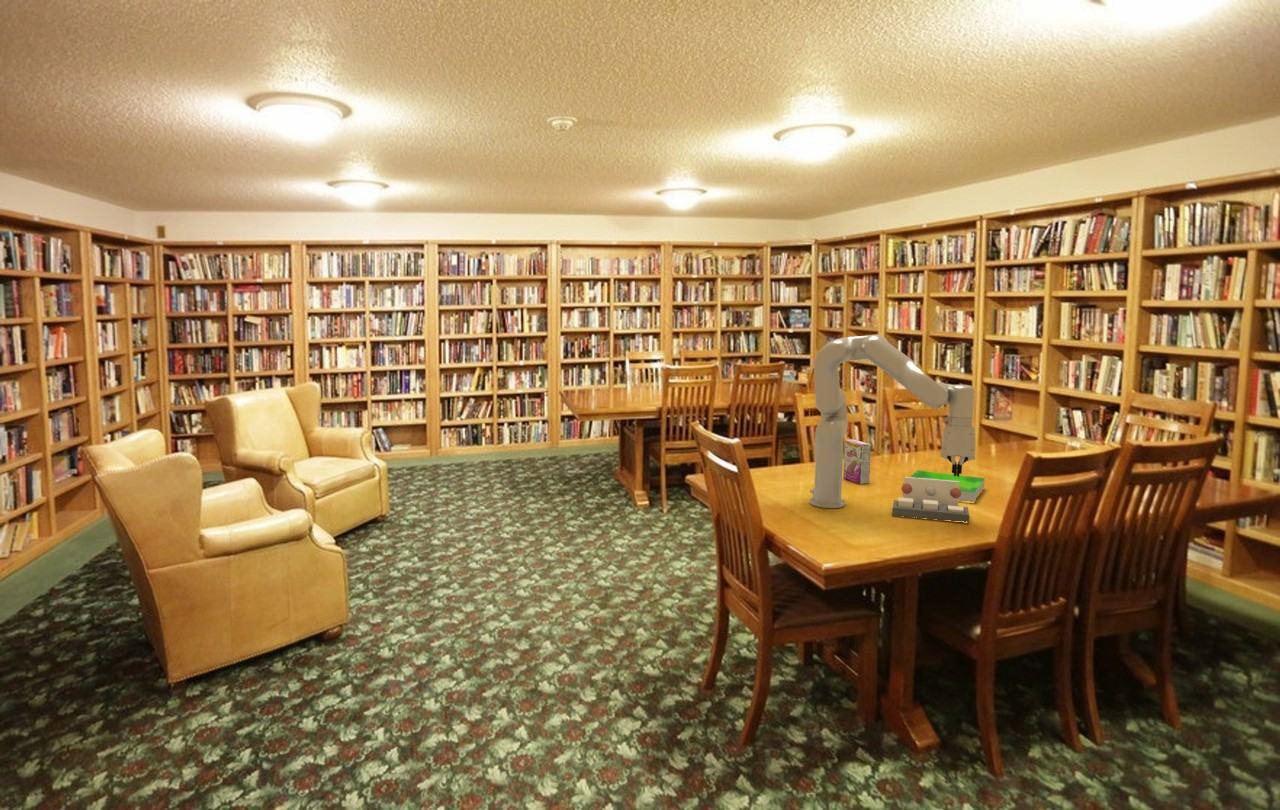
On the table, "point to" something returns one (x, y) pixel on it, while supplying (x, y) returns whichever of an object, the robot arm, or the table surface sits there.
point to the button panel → (935, 491)
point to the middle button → (930, 504)
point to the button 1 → (905, 502)
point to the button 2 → (955, 509)
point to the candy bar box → (857, 461)
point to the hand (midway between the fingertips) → (956, 475)
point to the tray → (967, 483)
